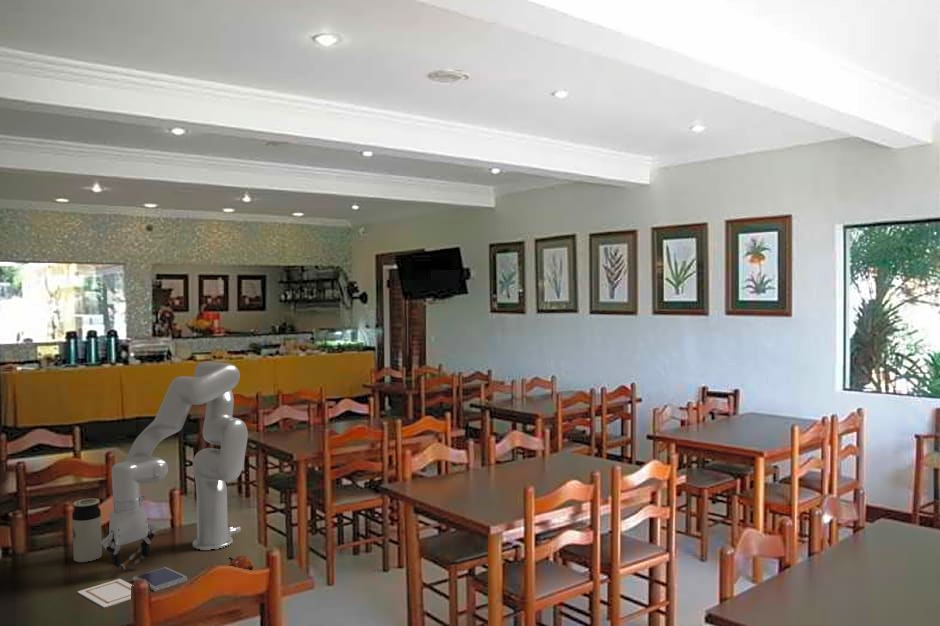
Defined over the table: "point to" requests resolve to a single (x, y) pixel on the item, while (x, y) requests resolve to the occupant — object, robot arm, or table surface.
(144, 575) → the ink pad
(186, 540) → the table surface
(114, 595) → the marked card
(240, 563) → the pomegranate
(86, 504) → the travel mug
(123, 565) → the wooden post with brackets
